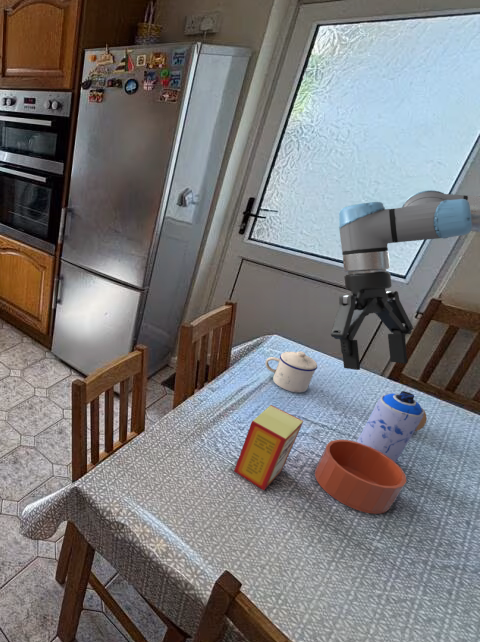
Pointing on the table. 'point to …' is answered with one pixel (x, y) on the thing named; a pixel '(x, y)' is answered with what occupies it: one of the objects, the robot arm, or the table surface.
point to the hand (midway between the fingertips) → (375, 365)
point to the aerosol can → (392, 424)
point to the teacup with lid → (293, 371)
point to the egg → (422, 422)
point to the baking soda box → (267, 446)
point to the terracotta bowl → (359, 476)
